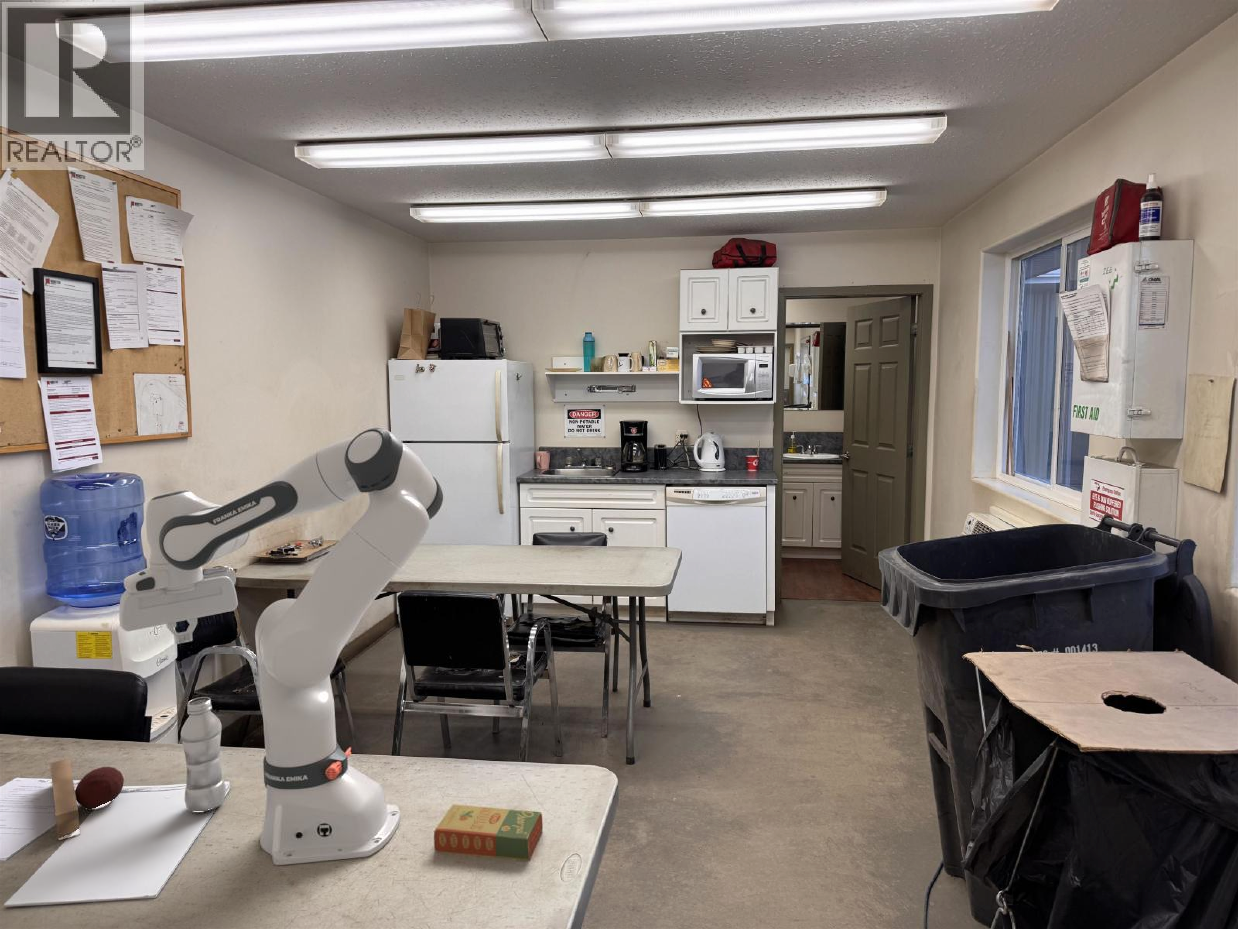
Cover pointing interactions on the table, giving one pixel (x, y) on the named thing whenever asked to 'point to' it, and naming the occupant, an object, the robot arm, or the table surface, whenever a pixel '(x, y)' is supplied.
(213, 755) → the plastic bottle
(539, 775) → the table surface
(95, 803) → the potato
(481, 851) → the carton
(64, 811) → the board
